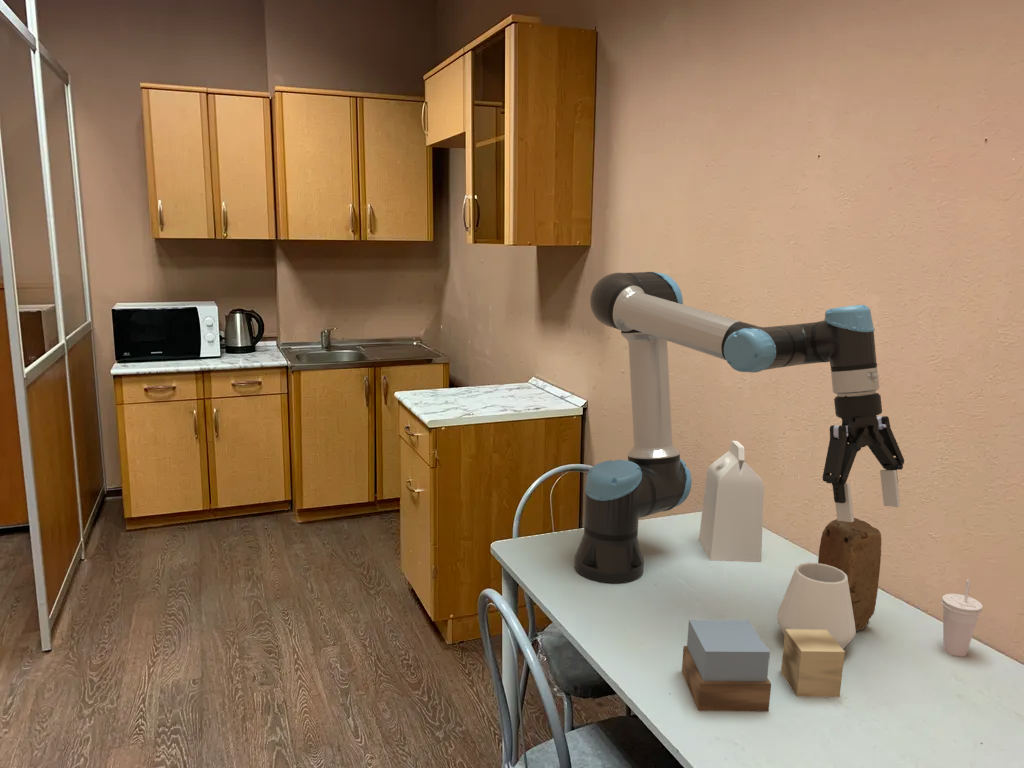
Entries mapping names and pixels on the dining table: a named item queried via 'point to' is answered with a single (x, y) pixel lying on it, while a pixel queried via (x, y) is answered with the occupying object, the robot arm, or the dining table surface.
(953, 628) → the smoothie
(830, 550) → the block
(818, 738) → the dining table surface
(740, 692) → the tower base
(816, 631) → the oak block
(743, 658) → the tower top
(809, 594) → the white ceramic vase
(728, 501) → the milk
